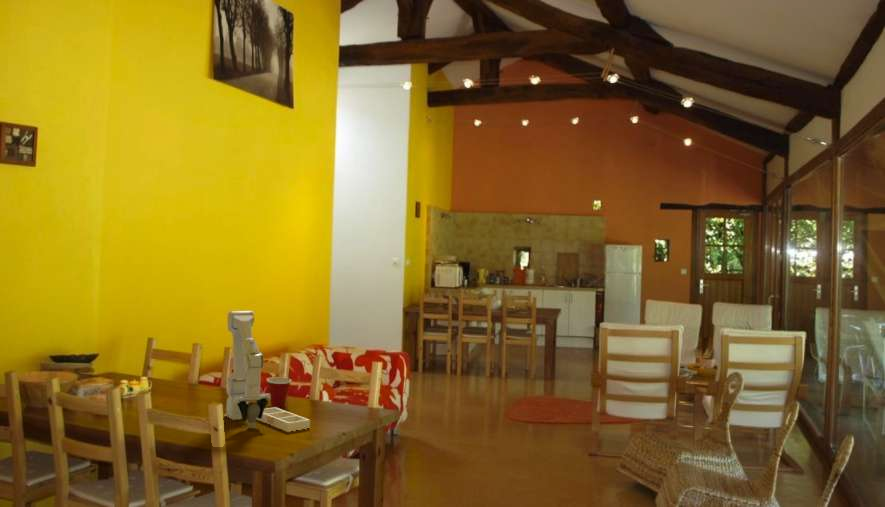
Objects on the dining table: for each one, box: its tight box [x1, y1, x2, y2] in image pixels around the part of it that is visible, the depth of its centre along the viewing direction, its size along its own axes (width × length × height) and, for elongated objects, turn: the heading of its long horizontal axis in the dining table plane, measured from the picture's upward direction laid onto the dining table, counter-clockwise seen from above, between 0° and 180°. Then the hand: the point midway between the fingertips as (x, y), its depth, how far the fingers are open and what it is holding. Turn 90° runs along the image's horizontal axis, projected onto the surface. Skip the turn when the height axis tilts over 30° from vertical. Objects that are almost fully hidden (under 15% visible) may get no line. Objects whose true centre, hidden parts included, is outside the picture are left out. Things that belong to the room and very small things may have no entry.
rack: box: [256, 407, 311, 433], centre depth 295 cm, size 27×10×4 cm, turn 42°
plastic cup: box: [266, 376, 292, 408], centre depth 327 cm, size 11×11×12 cm
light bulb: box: [247, 401, 260, 429], centre depth 286 cm, size 6×6×10 cm
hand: (252, 419), depth 286 cm, fingers closed on light bulb, 6 cm apart
